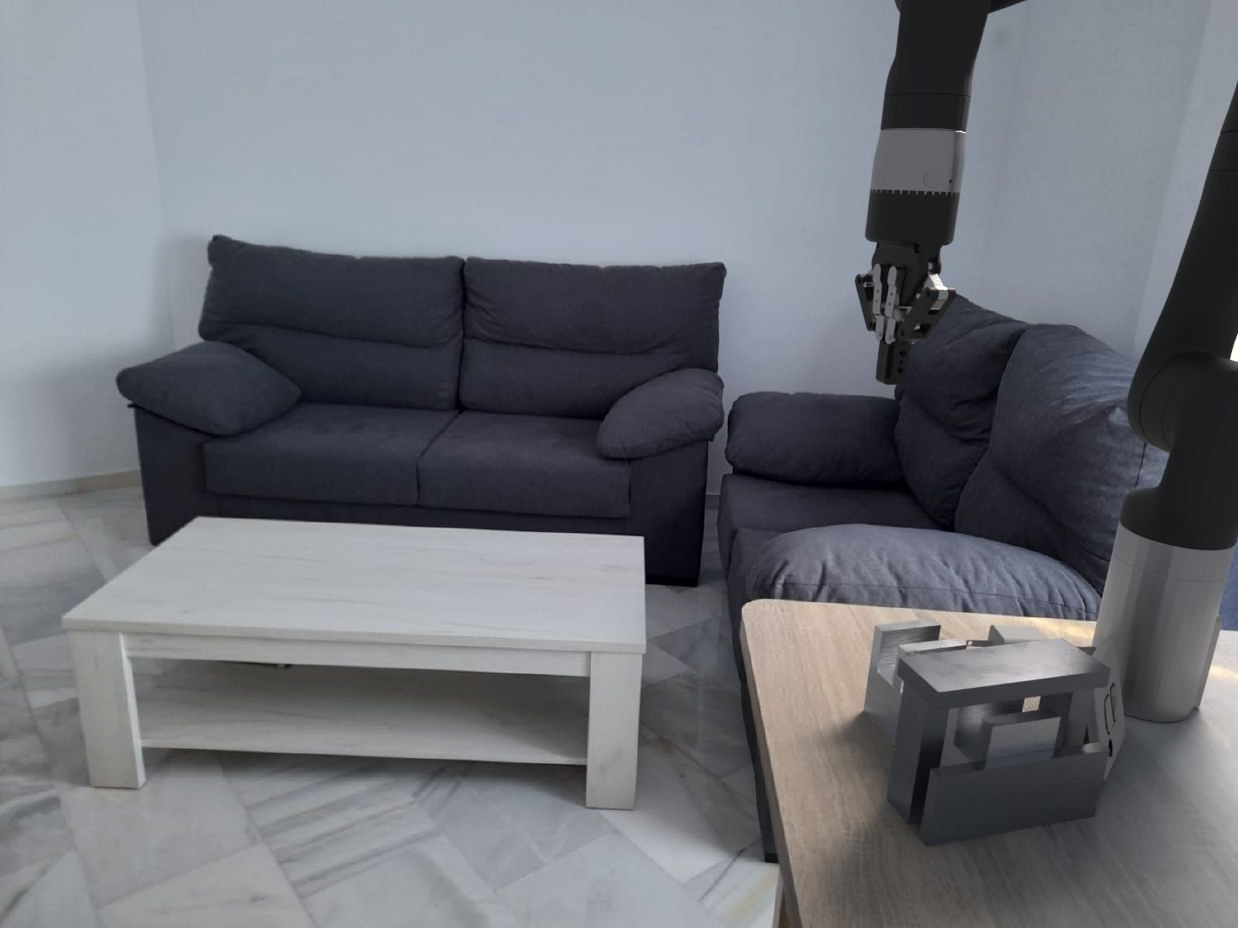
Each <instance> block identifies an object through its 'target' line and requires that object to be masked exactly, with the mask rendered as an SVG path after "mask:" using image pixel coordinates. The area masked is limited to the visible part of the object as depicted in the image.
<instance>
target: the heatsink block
mask: <svg viewBox="0 0 1238 928" xmlns="http://www.w3.org/2000/svg"><path fill="white" fill-rule="evenodd" d="M941 627H942V624H941V623H939V622H938V621H937V620H935V619H934V618H929V619H928V618H927V619H919V620H910V621H909V620H907V621H900V622H892V623H881V624H874V631H873V639H872V645H871V646H872V647H871V652H870V661H869V666H868V667H869V668H868V673H867V674H868V675H867V682H866V687H865V688H866V689H865V696H864V697H865V698H864V702H863V703H864V704H863V712H864V713H865V714H866V715H867V716H868V718H869V719H870V720H871V721H874V722H873V723H874V724H875V723H876V724H875V725H876V726H877V727H878V728H879V729H880V728H881V729H880V730H881V731H882V732H883V733H884V734H885V735H886V736H887V738H888V739H889V740H890V741H891V742H892V743H893V744H894V745H895V738H896V731H897V725H898V718H899V712H900V705H901V699H902V692H903V685H904V681H903V680H902V679H901V678H900V677H899V676H898V675H897V670H898V663H899V657H905V656H913V655H922V654H930V653H939V652H947V651H956V650H964V649H968V646H967V644H966V642H964V641H963V640H961V639H960V638H959V637H956V638H948V639H940V634H941ZM1025 700H1026V698H1024V699H1017V700H1009V701H1002V702H995V703H988V704H981V705H973V706H966V707H959V708H952V709H950V710H949V716H948V722H947V728H946V734H945V739H944V745H943V751H942V757H941V763H940V767H944V766H950V765H957V764H963V763H969V762H976V761H982V760H988V759H995V758H1001V757H1007V756H1014V755H1020V754H1026V753H1032V752H1039V751H1045V750H1051V749H1054V747H1055V742H1056V737H1057V733H1058V728H1059V723H1060V719H1061V717H1060V716H1059V715H1058V714H1056V713H1055V712H1054V711H1053V710H1051V709H1050V708H1046V709H1040V710H1038V709H1034V710H1027V711H1023V710H1024V704H1025Z"/></svg>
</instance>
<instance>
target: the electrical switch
mask: <svg viewBox="0 0 1238 928" xmlns="http://www.w3.org/2000/svg"><path fill="white" fill-rule="evenodd" d="M1075 646H1076V647H1077V648H1079V649H1080V650H1082V651H1083V652H1085V653H1086V654H1088V655H1090V656H1091V657H1093V658H1094V659H1096V660H1097V661H1099V662H1100V663H1102V664H1103V665H1105V666H1106V667H1108V668H1109V669H1111V672H1110V676H1109V680H1108V685H1107V687H1103V688H1096V689H1095V691H1094V695H1093V699H1092V704H1091V708H1090V713H1089V717H1088V722H1087V726H1086V730H1085V735H1084V739H1083V744H1089V743H1096V742H1101V743H1102V744H1104V745H1105V746H1106V747H1108V748H1109V749H1110V753H1109V757H1108V761H1107V765H1106V770H1105V774H1104V778H1103V782H1107V780H1108V777H1109V775H1110V773H1111V771H1112V768H1113V766H1114V764H1115V760H1116V758H1117V756H1118V754H1119V752H1120V749H1121V747H1122V745H1123V742H1124V739H1125V738H1126V723H1125V722H1126V721H1125V713H1124V711H1123V702H1122V694H1121V686H1120V677H1119V669H1118V663H1117V656H1116V650H1115V644H1114V641H1113V640H1111V639H1103V638H1102V640H1101V642H1100V643H1099V645H1098V647H1091V645H1090V646H1077V645H1075ZM1083 744H1082V745H1083Z"/></svg>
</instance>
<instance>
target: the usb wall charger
mask: <svg viewBox="0 0 1238 928" xmlns="http://www.w3.org/2000/svg"><path fill="white" fill-rule="evenodd" d="M987 635H988V636H987V639H966V642H965V644H967V647H974V648H981V647H989V646H998V645H1006V644H1015V643H1023V642H1032V641H1040V640H1048V639H1047V638H1046V637H1045V636H1044V634H1043V633H1042V632H1041V631H1040V630H1039V629H1038V627H1036V626H1034V625H1031V626H1030V625H1029V626H1028V625H1010V624H1009V625H1008V624H990V625H989V630H988V634H987ZM969 642H971V644H969Z"/></svg>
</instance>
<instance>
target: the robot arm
mask: <svg viewBox="0 0 1238 928" xmlns="http://www.w3.org/2000/svg"><path fill="white" fill-rule="evenodd" d="M1026 1H1027V0H894V3H895V7H896V9H897V10H898V12H899V19H898V20H899V22H898V29H897V38H896V45H895V47H896V49H895V55H894V59H893V61H892V64H891V66H890V68H889V71H888V74H887V78H886V83H885V88H884V95H883V102H882V103H883V104H882V105H883V106H882V111H881V112H882V113H881V121H880V128H879V129H880V131H879V135H878V139H877V144H876V148H875V152H874V157H873V164H872V170H871V171H872V172H871V180H870V186H869V195H868V196H869V198H868V203H867V212H866V213H867V214H866V221H865V231H864V232H865V233H864V238H865V239H866V240H867V241H868V242H870V243H871V242H872V243H876V245H875V250H874V252H873V255H872V257H871V263H870V265H871V268H870V269H869V270H868V271H867V273H865V274H863V273H862V274H861V273H858V274H856V276H855V278H854V285H855V289H856V293H857V295H858V296H857V297H858V301H859V304H860V307H861V312H862V315H863V321H864V323H865V327H866V330H867V331H868V332H874V333H875V339H876V341H878V343H879V344H878V349H877V350H878V351H877V361H876V368H875V380H876V381H877V382H878V383H881V384H884V385H886V386H895V385H897V386H899V385H903V383H904V382H905V381H906V376H907V372H908V366H909V357H910V353H911V351H910V350H911V346H912V345H913V344H915V343H916V342H918V341H926V340H928V339H929V337H930V335H931V334H932V332H933V331H934V330H935V328H936V327H937V325H938V324H939V322H940V321H941V319H942V318H943V316H944V315H945V314H946V312H947V311H948V310H949V308H950V306H951V305H952V303H953V302H954V301H955V299H956V297H957V291H956V288H955V287H953V286H952V287H951V286H948V287H947V286H945V285H944V283H943V282H942V279H941V278H940V275H941V273H942V261H941V249H942V247H943V246H949V245H951V244H952V242H953V241H954V238H955V232H956V226H957V225H956V224H957V219H958V218H957V217H958V212H959V206H960V205H959V204H960V197H961V189H962V184H963V179H964V178H963V177H964V170H965V164H966V163H965V162H966V136H967V133H966V132H967V128H968V120H969V115H970V108H971V100H972V99H971V98H972V91H973V80H974V79H973V78H974V71H975V66H976V65H975V64H976V62H977V61H976V60H977V57H978V53H979V49H980V46H981V43H982V40H983V35H984V32H985V29H986V28H985V27H986V24H987V20H988V16H989V14H992V13H995V12H998V11H1001V10H1004V9H1007V8H1010V7H1013V6H1015V5H1017V4H1020V3H1023V2H1026ZM1224 117H1225V118H1224V120H1223V123H1222V125H1221V129H1220V131H1219V136H1218V138H1217V141H1216V145H1215V147H1214V151H1213V154H1212V156H1211V160H1210V164H1209V167H1208V168H1207V173H1206V174H1207V175H1206V177H1205V181H1204V184H1203V187H1202V193H1201V196H1200V199H1199V203H1198V205H1197V210H1196V212H1195V216H1194V219H1193V221H1192V224H1191V228H1190V231H1189V234H1188V236H1187V240H1186V243H1185V246H1184V248H1183V251H1182V253H1181V257H1180V261H1179V262H1178V263H1179V264H1178V267H1177V270H1176V272H1175V276H1174V279H1173V280H1172V283H1171V286H1170V290H1169V292H1168V294H1167V298H1166V299H1165V302H1164V305H1163V307H1162V309H1161V312H1160V314H1159V316H1158V319H1157V321H1156V324H1155V326H1154V327H1153V330H1152V333H1151V335H1150V337H1149V339H1148V342H1147V343H1146V346H1145V348H1144V351H1143V354H1142V355H1141V357H1140V360H1139V362H1138V365H1137V367H1136V369H1135V372H1134V374H1133V376H1132V380H1131V383H1130V386H1129V390H1128V394H1127V398H1126V416H1127V420H1128V424H1129V427H1130V429H1131V430H1132V432H1133V433H1134V435H1136V437H1137V438H1139V439H1140V440H1142V441H1143V442H1145V443H1146V444H1149V445H1150V446H1152V447H1154V448H1156V449H1158V450H1161V451H1163V452H1165V453H1168V454H1169V455H1168V458H1167V461H1166V463H1165V464H1166V465H1165V467H1164V470H1163V473H1162V477H1161V480H1160V482H1159V484H1158V485H1156V486H1144V487H1138V488H1135V489H1132V490H1130V491H1129V492H1127V494H1126V495H1125V497H1124V500H1123V501H1122V507H1121V511H1120V515H1119V521H1118V525H1117V529H1116V535H1115V537H1114V543H1113V548H1112V553H1111V557H1110V562H1109V566H1108V570H1107V575H1106V579H1105V584H1104V588H1103V593H1102V596H1101V597H1102V598H1101V602H1100V606H1099V609H1098V616H1097V620H1096V624H1095V629H1094V632H1093V637H1092V642H1091V645H1090V646H1091V647H1098V645H1099V643H1100V642H1101V640H1102V638H1103V639H1111V640H1113V641H1114V644H1115V650H1116V656H1117V663H1118V669H1119V677H1120V686H1121V694H1122V702H1123V711H1124V715H1125V714H1126V715H1128V716H1131V717H1136V718H1137V719H1138V718H1139V719H1144V720H1148V721H1154V722H1162V723H1165V722H1172V723H1173V722H1176V721H1177V722H1178V721H1182V720H1185V719H1187V718H1189V716H1190V715H1191V713H1192V710H1193V709H1194V708H1198V707H1201V704H1202V699H1203V695H1204V692H1205V689H1206V686H1207V685H1206V684H1207V681H1208V677H1209V673H1210V670H1211V666H1212V662H1213V658H1214V656H1215V652H1216V651H1215V650H1216V648H1217V643H1218V640H1219V637H1220V633H1221V629H1222V625H1223V620H1224V619H1223V617H1222V615H1221V614H1220V613H1219V610H1220V607H1221V602H1222V599H1223V596H1224V591H1225V587H1226V584H1227V581H1228V576H1229V573H1230V568H1231V565H1232V561H1233V557H1234V553H1235V550H1236V546H1237V542H1238V361H1236V360H1232V359H1231V358H1232V353H1233V350H1234V346H1235V343H1236V340H1237V337H1238V80H1237V82H1236V85H1235V88H1234V91H1233V94H1232V97H1231V99H1230V103H1229V107H1228V108H1227V112H1226V115H1225V116H1224Z"/></svg>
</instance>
